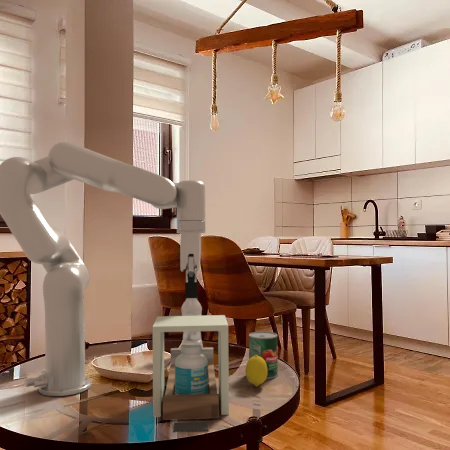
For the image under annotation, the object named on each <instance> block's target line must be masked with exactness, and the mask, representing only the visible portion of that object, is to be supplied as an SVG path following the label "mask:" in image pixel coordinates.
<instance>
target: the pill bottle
mask: <svg viewBox="0 0 450 450" xmlns="http://www.w3.org/2000/svg"><path fill="white" fill-rule="evenodd" d="M180 348H181V352H182V354H181V355H179V356H178V357H177V358H176V360H175V395H187V394H208V361H207V358H206V357H205V356H204V355H202V354H201V351H202V346H201V345H199V344H184V345H182V344H181V345H180Z"/></svg>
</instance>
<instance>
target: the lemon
mask: <svg viewBox="0 0 450 450" xmlns="http://www.w3.org/2000/svg"><path fill="white" fill-rule="evenodd" d="M245 376H246V379H247V380H248V382H249V383H250V384H253V386H254V387H256V388H257V387H259V386H260V385H262V384H263V383H264V382H265V381H266V380H267V379H266V377H267V365H266V362H265V360H264V359H263V358H261V357H259V356H258V355H255V356H253V357H251V358H250V359H249V358H248V360H247V362H246V366H245Z"/></svg>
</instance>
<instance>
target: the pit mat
mask: <svg viewBox="0 0 450 450" xmlns="http://www.w3.org/2000/svg"><path fill="white" fill-rule="evenodd" d="M190 432H193V433H194V432H195V433H196V432H209V421H208V420H207V421H205V420H204V421H180V422H179V421H177V422H173V427H172V433H190Z"/></svg>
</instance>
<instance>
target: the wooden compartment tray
mask: <svg viewBox="0 0 450 450" xmlns="http://www.w3.org/2000/svg"><path fill="white" fill-rule="evenodd" d="M181 354H182V352H181V347H174V348H173V347H172V348H170V367H169V371H168V378H167V382H166V389H165V391H164V395H163V407H162V421H170V420H176V421H177V420H193V419H194V420H200V419H201V420H202V419H205V420H206V419H219V417H220V400H219V393H218V388H217V381H216V375H215V373H216V372H215V366H214V347H212V346H211V347H209V346H208V347H207V346H206V347H204V346H203V348H202V351H201V354H202V355H204V356H205V357H206V358H207V361H208V394H187V395H175V360H176V358H177V357H178V356H179V355H181Z"/></svg>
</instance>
